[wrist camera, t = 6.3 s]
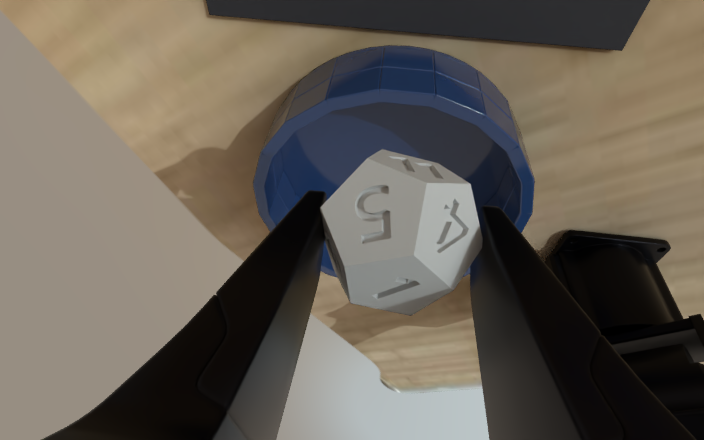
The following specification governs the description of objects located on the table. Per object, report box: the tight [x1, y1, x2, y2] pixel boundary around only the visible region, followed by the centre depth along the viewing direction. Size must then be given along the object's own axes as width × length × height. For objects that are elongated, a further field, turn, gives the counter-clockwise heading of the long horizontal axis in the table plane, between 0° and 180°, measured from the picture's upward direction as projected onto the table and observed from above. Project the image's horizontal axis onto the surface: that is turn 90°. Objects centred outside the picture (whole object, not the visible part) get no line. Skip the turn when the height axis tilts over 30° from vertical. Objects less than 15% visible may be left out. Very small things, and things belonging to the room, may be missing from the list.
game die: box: [320, 149, 483, 316], centre depth 9 cm, size 4×4×3 cm
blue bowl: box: [253, 45, 535, 278], centre depth 22 cm, size 14×14×4 cm
